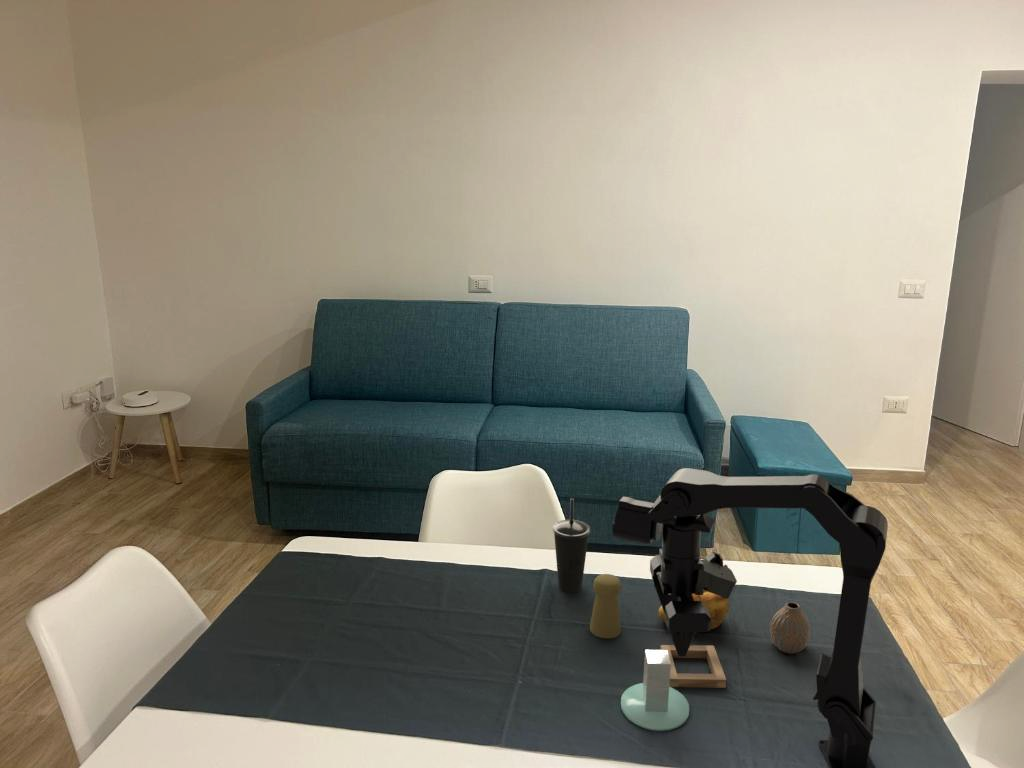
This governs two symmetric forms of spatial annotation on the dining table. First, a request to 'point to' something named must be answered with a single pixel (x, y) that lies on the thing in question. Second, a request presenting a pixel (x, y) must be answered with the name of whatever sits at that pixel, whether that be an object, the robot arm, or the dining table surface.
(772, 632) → the vase
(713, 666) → the walnut collar
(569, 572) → the drinking cup
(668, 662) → the steel bar
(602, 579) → the wooden pepper shaker
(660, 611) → the bread roll
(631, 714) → the teal coaster
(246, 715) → the dining table surface
